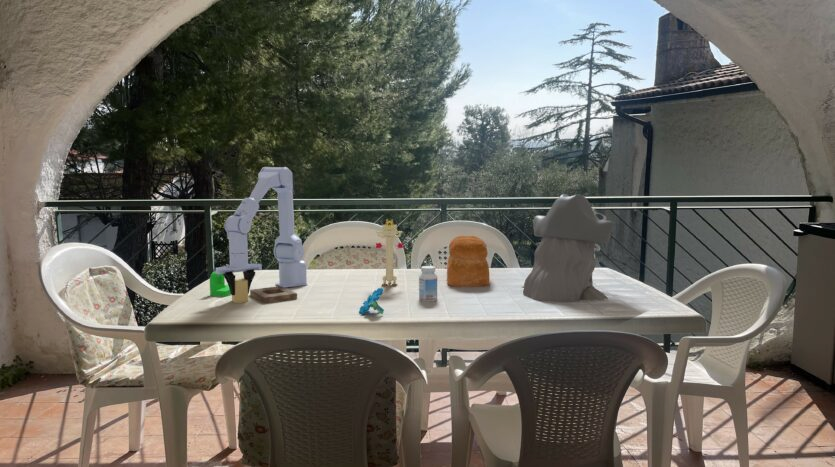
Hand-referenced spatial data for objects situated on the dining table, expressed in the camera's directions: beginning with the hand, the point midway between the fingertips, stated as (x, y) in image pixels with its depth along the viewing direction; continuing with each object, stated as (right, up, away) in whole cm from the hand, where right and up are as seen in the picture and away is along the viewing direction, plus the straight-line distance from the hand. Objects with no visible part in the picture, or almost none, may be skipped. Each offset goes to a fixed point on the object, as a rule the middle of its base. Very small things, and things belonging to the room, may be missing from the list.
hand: (239, 293), depth 195 cm
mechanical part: (-8, -1, +13) cm, 15 cm away
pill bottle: (+62, -3, +3) cm, 62 cm away
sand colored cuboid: (0, -2, 0) cm, 2 cm away
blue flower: (+42, -6, -15) cm, 45 cm away
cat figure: (+48, 0, +27) cm, 55 cm away
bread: (+77, +1, +34) cm, 84 cm away
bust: (+109, -2, +12) cm, 109 cm away
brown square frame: (+10, -2, +6) cm, 11 cm away
